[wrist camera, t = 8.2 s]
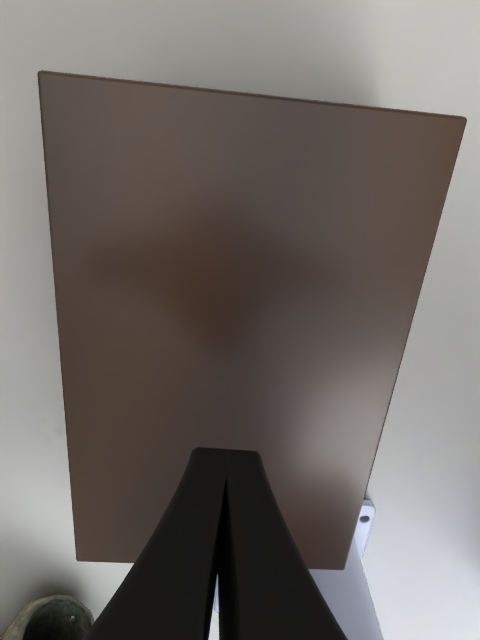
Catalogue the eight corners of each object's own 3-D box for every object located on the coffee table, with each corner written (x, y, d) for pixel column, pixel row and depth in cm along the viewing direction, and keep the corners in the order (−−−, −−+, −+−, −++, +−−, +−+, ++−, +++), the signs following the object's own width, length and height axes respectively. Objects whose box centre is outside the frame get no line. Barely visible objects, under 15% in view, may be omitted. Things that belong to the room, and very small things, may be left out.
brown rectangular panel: (82, 543, 16) (75, 562, 15) (49, 74, 10) (35, 68, 9) (339, 552, 17) (345, 571, 16) (452, 118, 11) (469, 116, 10)
